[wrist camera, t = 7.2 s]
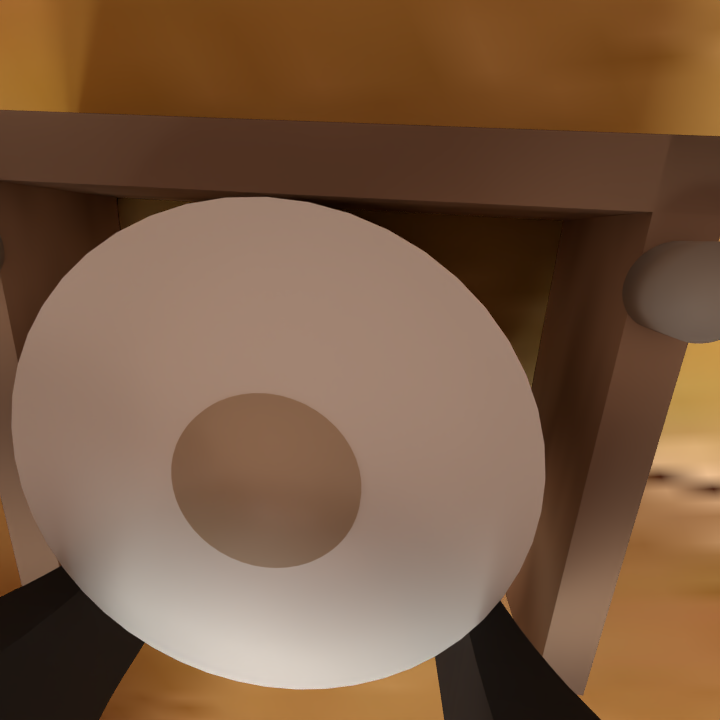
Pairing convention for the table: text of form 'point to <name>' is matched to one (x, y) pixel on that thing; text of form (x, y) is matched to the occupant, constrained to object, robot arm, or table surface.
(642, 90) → the table surface
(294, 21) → the table surface
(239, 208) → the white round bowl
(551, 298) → the cradle
